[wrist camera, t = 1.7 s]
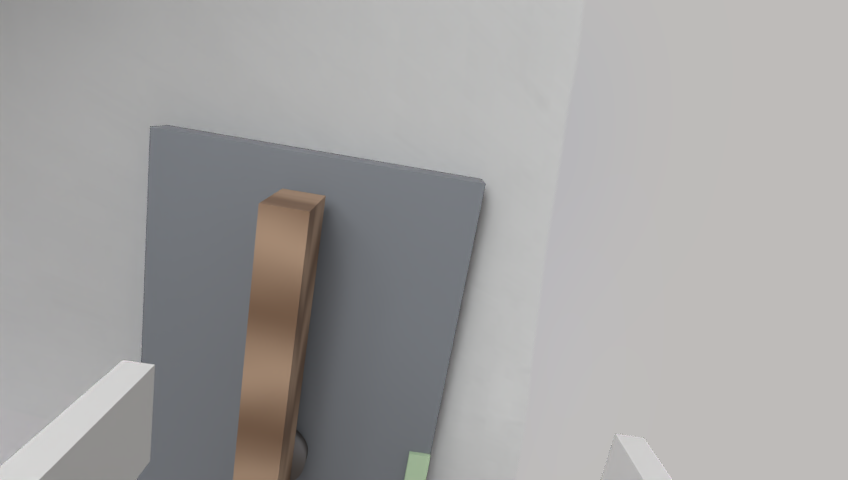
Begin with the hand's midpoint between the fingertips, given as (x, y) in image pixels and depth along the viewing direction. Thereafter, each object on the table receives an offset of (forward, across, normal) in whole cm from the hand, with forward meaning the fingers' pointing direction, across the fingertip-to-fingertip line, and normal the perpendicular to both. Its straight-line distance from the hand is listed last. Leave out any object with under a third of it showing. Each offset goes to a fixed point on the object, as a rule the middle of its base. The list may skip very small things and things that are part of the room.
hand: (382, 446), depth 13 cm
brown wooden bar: (+18, -6, -11) cm, 22 cm away
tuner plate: (+20, -5, -11) cm, 24 cm away
